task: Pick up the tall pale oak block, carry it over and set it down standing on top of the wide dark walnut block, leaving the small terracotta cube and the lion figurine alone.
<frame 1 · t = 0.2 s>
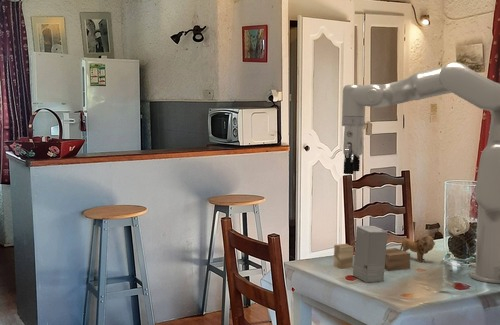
hand: (351, 172, 203), 30 cm above the table, tool pointing down, fingers open, 9 cm apart
walnut block: (392, 266, 198), on the table
terracotta cube: (372, 260, 206), on the table
skincare box: (369, 279, 184), on the table
oak block: (343, 266, 198), on the table
lion figurine: (415, 260, 208), on the table
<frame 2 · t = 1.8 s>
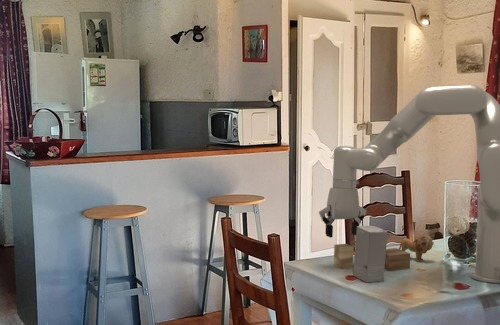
hand: (342, 235, 197), 10 cm above the table, tool pointing down, fingers open, 9 cm apart
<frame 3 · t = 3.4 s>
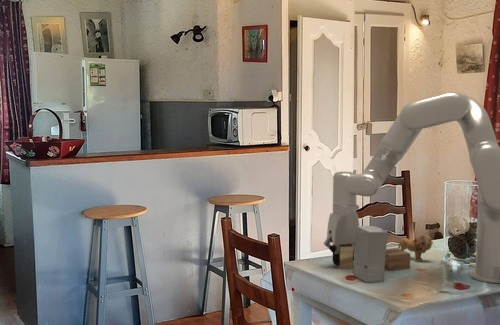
hand: (343, 263, 198), 1 cm above the table, tool pointing down, fingers closed on oak block, 4 cm apart
oak block: (343, 266, 198), on the table, touching gripper
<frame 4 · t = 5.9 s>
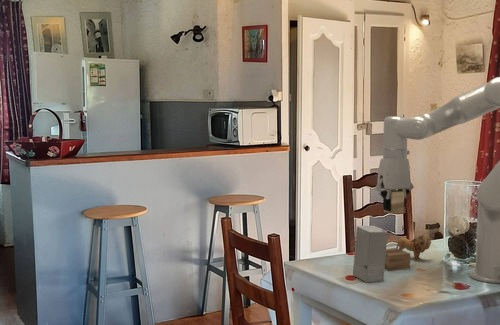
hand: (393, 209, 196), 19 cm above the table, tool pointing down, fingers closed on oak block, 4 cm apart
oak block: (393, 212, 196), point 18 cm above the table, touching gripper
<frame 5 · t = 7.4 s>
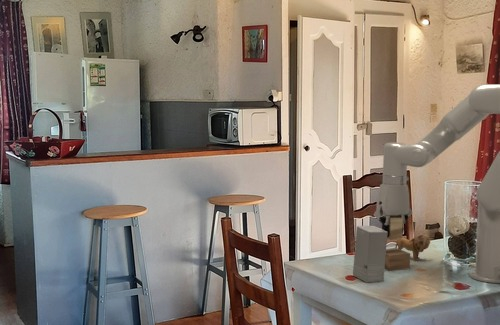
hand: (392, 235, 197), 10 cm above the table, tool pointing down, fingers closed on oak block, 4 cm apart
oak block: (392, 237, 197), point 10 cm above the table, touching gripper
when the fingers open (7 cm above the table, at t = 8.5 s): oak block stays where it is, resting on walnut block.
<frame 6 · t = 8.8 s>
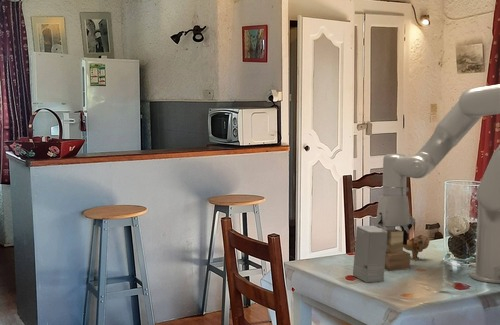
hand: (392, 244, 198), 7 cm above the table, tool pointing down, fingers open, 7 cm apart
oak block: (392, 251, 198), point 5 cm above the table, touching walnut block
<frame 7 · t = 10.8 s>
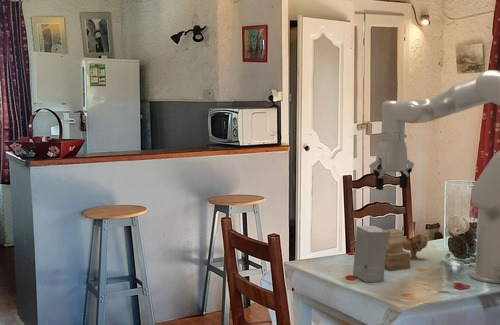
hand: (391, 188, 202), 25 cm above the table, tool pointing down, fingers open, 9 cm apart
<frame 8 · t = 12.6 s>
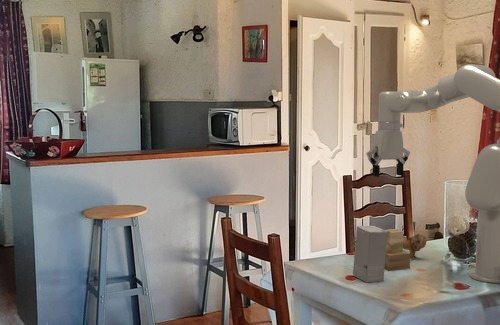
hand: (387, 175, 211), 28 cm above the table, tool pointing down, fingers open, 9 cm apart
at the end: oak block inside the target area on the walnut block (0.1 cm from its centre), point 5.0 cm above the walnut block's base; oak block tilted 0°; the gripper is holding nothing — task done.
